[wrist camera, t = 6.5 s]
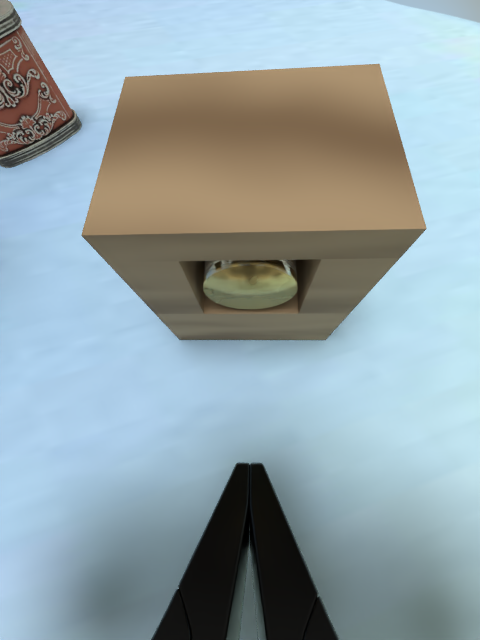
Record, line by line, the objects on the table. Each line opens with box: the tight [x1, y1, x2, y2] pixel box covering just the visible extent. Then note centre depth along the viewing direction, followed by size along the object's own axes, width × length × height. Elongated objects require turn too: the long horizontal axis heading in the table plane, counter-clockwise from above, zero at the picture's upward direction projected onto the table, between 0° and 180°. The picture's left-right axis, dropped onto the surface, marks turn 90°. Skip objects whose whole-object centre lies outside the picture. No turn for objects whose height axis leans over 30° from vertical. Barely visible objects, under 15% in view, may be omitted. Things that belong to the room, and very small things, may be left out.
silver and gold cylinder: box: [203, 260, 297, 309], centre depth 12 cm, size 9×4×4 cm, turn 179°
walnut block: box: [82, 64, 426, 340], centre depth 13 cm, size 7×9×10 cm
